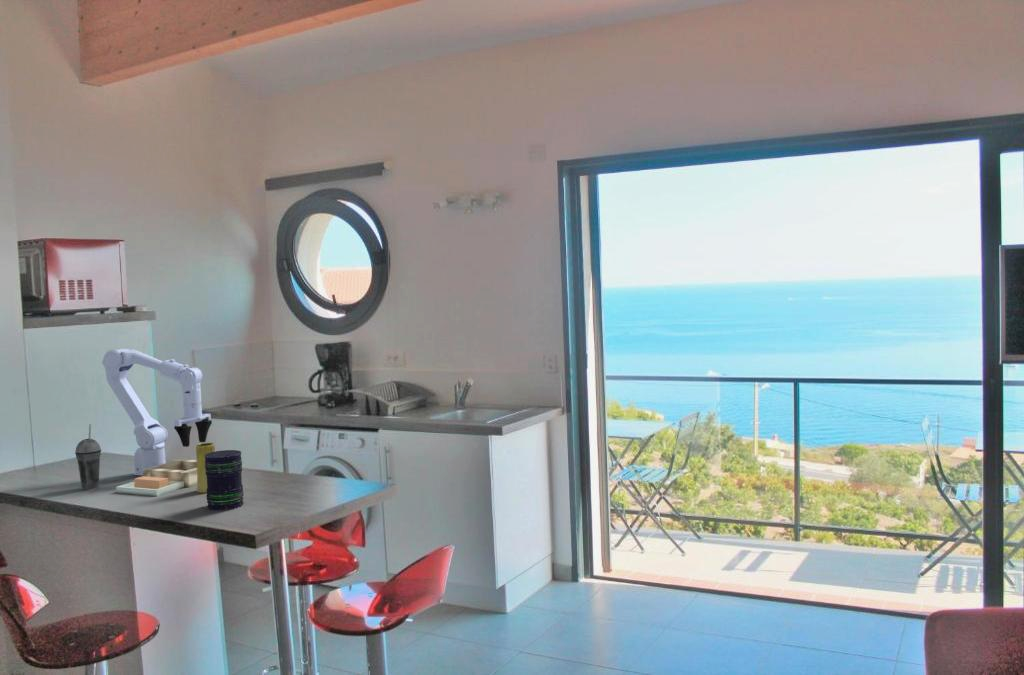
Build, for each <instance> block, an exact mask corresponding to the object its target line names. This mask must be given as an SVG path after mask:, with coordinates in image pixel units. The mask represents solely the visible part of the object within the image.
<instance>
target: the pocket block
mask: <svg viewBox="0 0 1024 675" xmlns="http://www.w3.org/2000/svg"><path fill="white" fill-rule="evenodd" d="M143 476H146V477H160V478H168V480H170V481H183V482H184V487H183V488H190V487H194V486H197V459H185V458H182V459H181V458H180V459H177V460H176V459H175V460H172V461H169V462H166V463H165V464H161V465H158V466H154V467H150V468H147V469H143Z"/></svg>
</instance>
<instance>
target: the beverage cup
mask: <svg viewBox="0 0 1024 675" xmlns="http://www.w3.org/2000/svg"><path fill="white" fill-rule="evenodd" d="M91 432H92V424H89V425H88V438H86V439H85V438H84V439H82V440H80V441H79V442H78V443H77V445H76V447H75V453H74V454H75V456H76V461H77V466H78V471H79V472H78V473H79V477H80V478H79V479H80V485H81V489H82V490H84V491H88V490H95V489H98V488H99V485H100V484H99V482H100V461H101V452H102V449H101V446H100V444H99V442H98V441H97V440H96V439H93V438H91V434H92V433H91Z"/></svg>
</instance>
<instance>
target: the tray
mask: <svg viewBox="0 0 1024 675" xmlns="http://www.w3.org/2000/svg"><path fill="white" fill-rule="evenodd" d="M183 488H185V487H184V482H183V481H170V480H168V486H165V487H162V488H159V489H148V488H136V487H135V485H134V481H131V482H128V483H124V484H121V485H118V486H115V492H116V494H127V495H140V496H141V495H142V496H150V497H159V496H162V495H164V494H165V495H166V494H168V493H170V492H174V491H177V490H181V489H183Z"/></svg>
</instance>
